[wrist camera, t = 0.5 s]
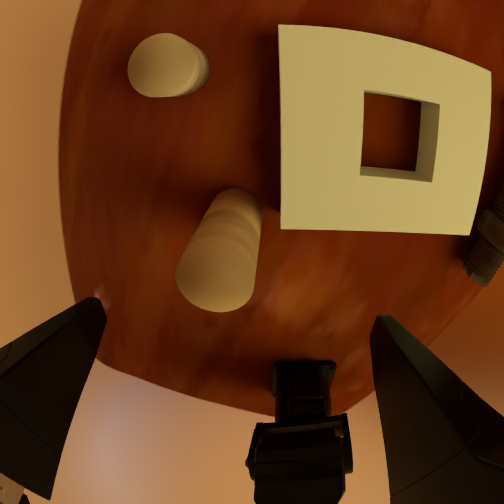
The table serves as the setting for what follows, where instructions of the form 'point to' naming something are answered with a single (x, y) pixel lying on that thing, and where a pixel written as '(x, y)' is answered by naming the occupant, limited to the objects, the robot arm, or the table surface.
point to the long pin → (223, 253)
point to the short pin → (167, 67)
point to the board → (351, 130)
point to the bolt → (487, 246)
